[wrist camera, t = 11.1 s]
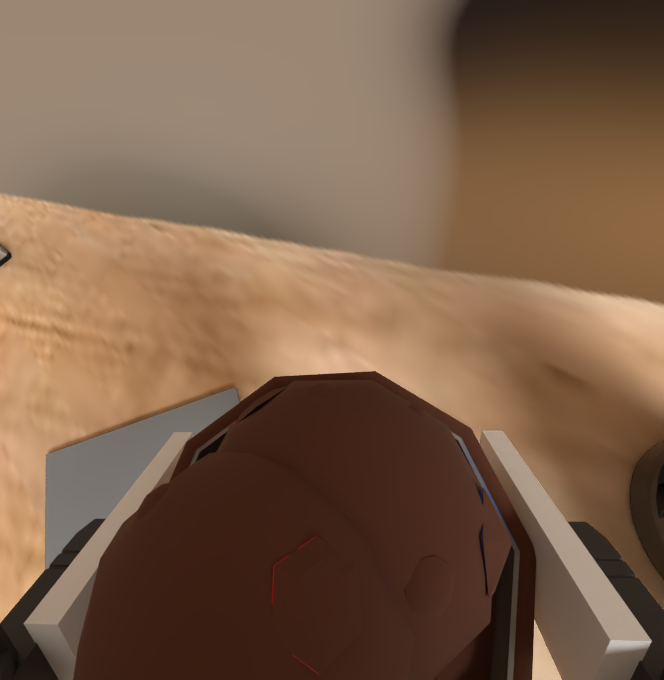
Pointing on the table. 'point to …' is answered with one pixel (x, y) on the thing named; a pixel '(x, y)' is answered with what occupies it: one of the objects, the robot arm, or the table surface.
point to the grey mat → (113, 467)
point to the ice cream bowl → (319, 549)
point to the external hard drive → (4, 255)
